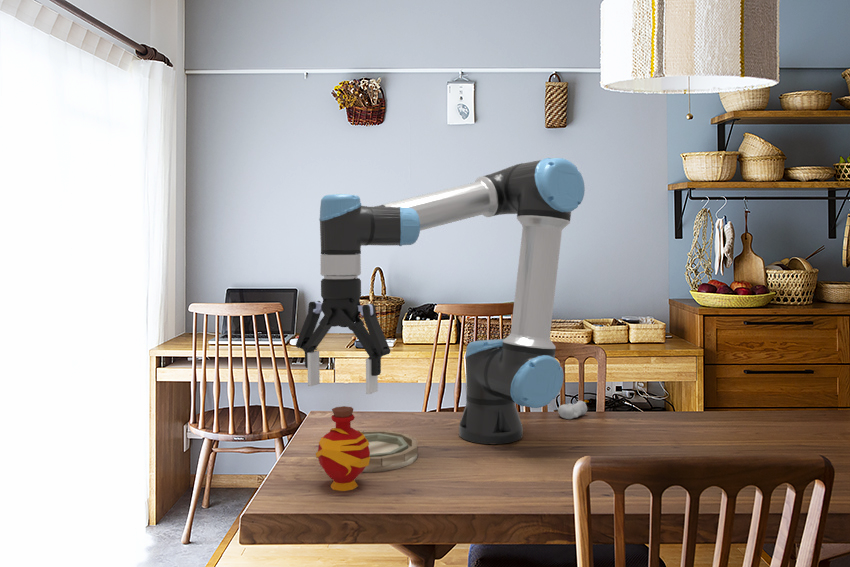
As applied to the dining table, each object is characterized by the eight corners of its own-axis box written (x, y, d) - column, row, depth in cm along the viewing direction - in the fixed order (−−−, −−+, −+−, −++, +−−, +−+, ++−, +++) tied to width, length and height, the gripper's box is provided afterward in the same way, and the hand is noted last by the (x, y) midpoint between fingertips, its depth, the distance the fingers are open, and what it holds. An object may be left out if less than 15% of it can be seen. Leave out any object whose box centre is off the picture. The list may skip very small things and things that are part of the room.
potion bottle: (306, 486, 127) (304, 409, 126) (349, 472, 134) (347, 399, 133) (339, 501, 119) (337, 419, 118) (382, 485, 127) (381, 408, 126)
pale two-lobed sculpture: (564, 425, 171) (554, 414, 175) (590, 421, 174) (579, 411, 178) (567, 411, 169) (556, 400, 174) (593, 407, 172) (582, 397, 176)
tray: (433, 449, 148) (433, 437, 148) (386, 478, 130) (385, 464, 130) (359, 437, 157) (359, 426, 157) (306, 462, 140) (305, 449, 140)
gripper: (408, 278, 121) (408, 391, 123) (302, 274, 133) (303, 378, 135) (386, 280, 115) (386, 400, 116) (276, 276, 127) (278, 385, 128)
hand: (342, 388), depth 126 cm, fingers open, 13 cm apart
